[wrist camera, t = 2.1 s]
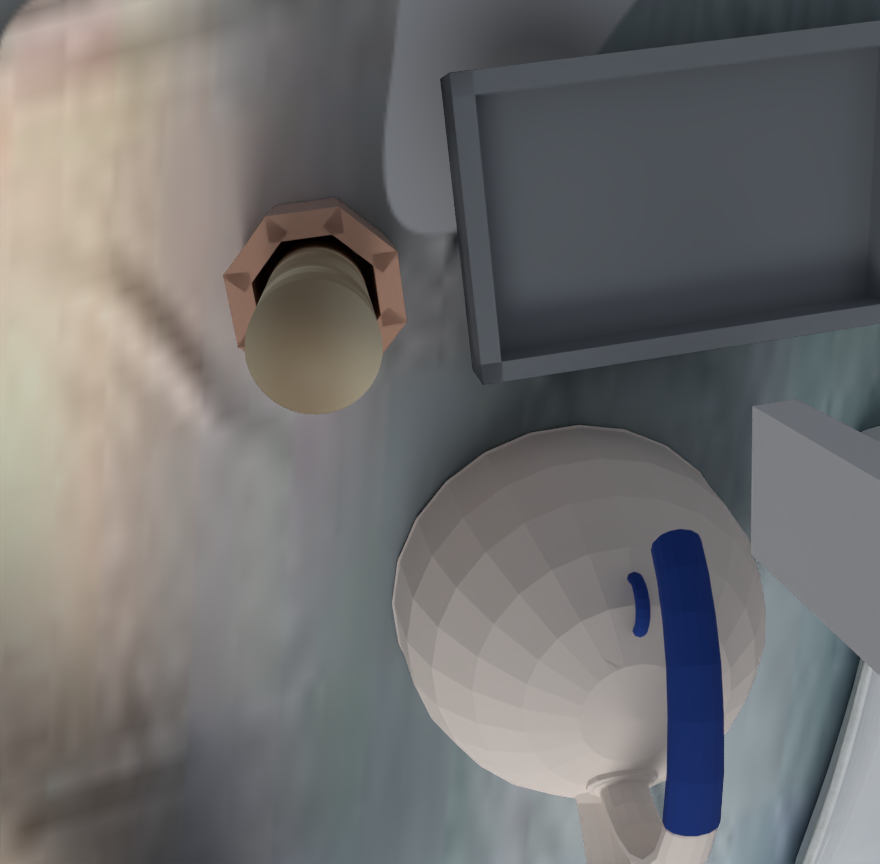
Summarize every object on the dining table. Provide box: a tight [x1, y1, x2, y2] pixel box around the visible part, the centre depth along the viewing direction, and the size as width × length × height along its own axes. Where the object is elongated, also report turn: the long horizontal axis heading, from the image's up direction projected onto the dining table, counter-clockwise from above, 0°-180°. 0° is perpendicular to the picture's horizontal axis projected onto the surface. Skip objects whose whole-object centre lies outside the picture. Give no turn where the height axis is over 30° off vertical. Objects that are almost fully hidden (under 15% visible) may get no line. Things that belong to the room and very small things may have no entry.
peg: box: [245, 235, 383, 414], centre depth 32 cm, size 4×4×16 cm
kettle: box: [392, 425, 765, 864], centre depth 39 cm, size 20×21×18 cm
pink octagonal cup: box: [223, 197, 407, 354], centre depth 36 cm, size 7×7×8 cm
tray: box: [440, 20, 880, 385], centre depth 40 cm, size 22×14×3 cm, turn 97°
